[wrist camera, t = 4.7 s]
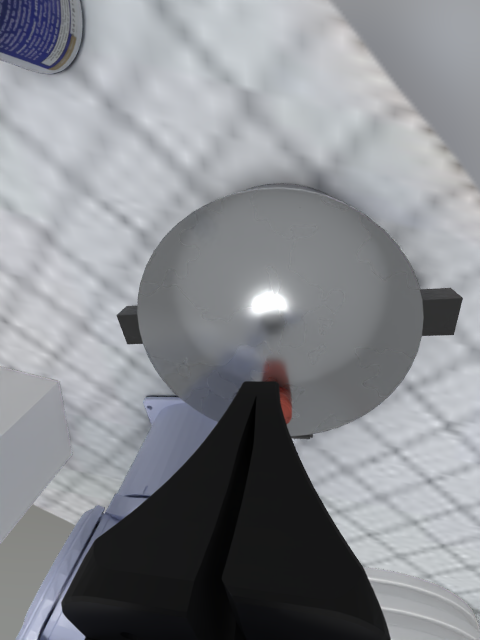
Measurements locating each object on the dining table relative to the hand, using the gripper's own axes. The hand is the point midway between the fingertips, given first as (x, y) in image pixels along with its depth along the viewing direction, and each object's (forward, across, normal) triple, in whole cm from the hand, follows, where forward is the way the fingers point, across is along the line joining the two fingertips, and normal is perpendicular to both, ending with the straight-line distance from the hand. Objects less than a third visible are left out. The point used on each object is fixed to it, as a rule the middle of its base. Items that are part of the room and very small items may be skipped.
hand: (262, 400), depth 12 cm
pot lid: (+4, 0, 0) cm, 4 cm away
